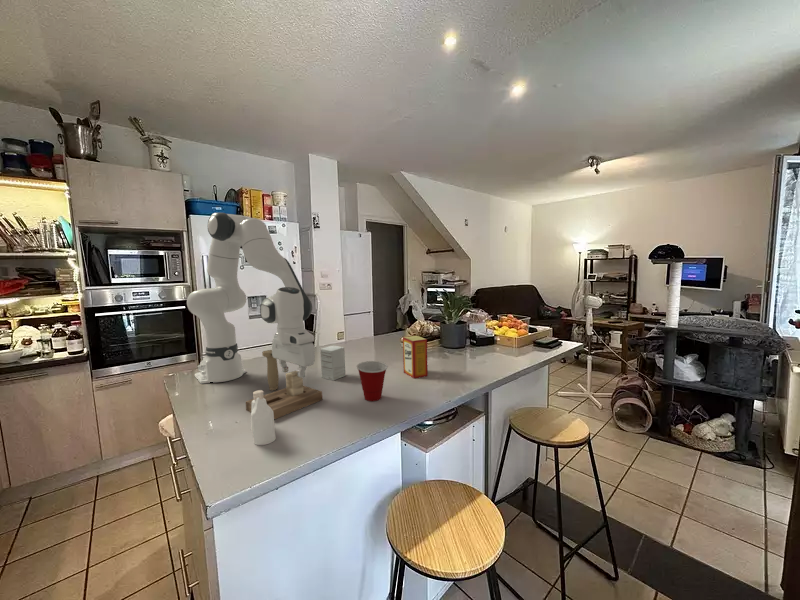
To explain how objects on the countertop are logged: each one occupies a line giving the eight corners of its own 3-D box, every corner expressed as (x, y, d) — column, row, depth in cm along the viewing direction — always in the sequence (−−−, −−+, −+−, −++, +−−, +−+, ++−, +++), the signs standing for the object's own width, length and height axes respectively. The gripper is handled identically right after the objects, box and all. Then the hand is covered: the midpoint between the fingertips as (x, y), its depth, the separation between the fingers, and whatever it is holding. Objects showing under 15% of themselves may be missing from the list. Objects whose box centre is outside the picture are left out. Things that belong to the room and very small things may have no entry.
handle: (282, 390, 125) (280, 351, 124) (264, 392, 123) (262, 353, 121) (282, 386, 130) (280, 348, 128) (264, 388, 127) (262, 350, 126)
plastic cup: (372, 407, 107) (371, 371, 106) (351, 399, 114) (350, 365, 113) (395, 397, 115) (394, 364, 114) (374, 390, 122) (373, 358, 121)
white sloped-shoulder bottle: (277, 394, 88) (261, 402, 83) (280, 437, 89) (264, 447, 84) (261, 391, 91) (244, 399, 85) (263, 433, 92) (247, 443, 87)
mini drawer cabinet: (334, 373, 144) (332, 345, 143) (346, 376, 140) (344, 347, 139) (321, 377, 139) (319, 348, 137) (333, 381, 134) (331, 350, 133)
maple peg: (287, 401, 114) (285, 373, 113) (296, 397, 117) (295, 370, 116) (294, 404, 111) (292, 375, 110) (303, 400, 115) (302, 372, 114)
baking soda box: (403, 372, 143) (402, 336, 142) (416, 370, 146) (416, 334, 144) (413, 378, 135) (413, 340, 133) (427, 376, 137) (426, 338, 136)
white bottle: (250, 434, 91) (247, 396, 90) (250, 426, 96) (248, 390, 95) (271, 430, 93) (268, 393, 92) (270, 422, 98) (268, 387, 97)
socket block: (246, 410, 107) (245, 401, 107) (298, 391, 123) (297, 383, 123) (269, 421, 99) (269, 411, 99) (322, 399, 115) (322, 391, 114)
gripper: (266, 333, 116) (268, 371, 117) (301, 340, 103) (302, 382, 105) (282, 330, 121) (283, 366, 122) (317, 336, 108) (318, 377, 110)
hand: (292, 374), depth 113 cm, fingers open, 8 cm apart
